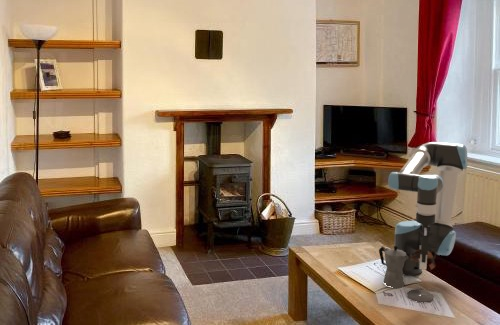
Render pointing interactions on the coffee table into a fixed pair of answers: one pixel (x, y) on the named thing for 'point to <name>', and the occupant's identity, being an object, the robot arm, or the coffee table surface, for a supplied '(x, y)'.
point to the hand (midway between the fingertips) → (422, 264)
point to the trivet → (420, 295)
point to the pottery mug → (430, 256)
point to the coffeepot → (393, 266)
